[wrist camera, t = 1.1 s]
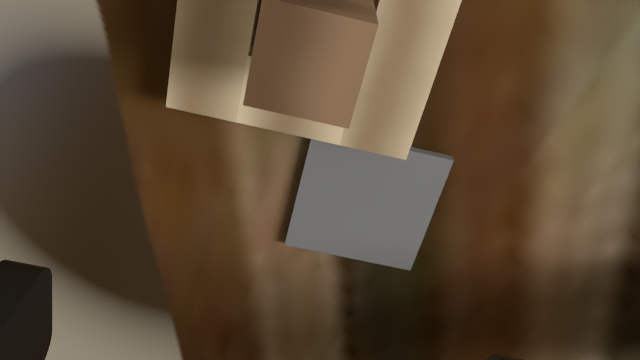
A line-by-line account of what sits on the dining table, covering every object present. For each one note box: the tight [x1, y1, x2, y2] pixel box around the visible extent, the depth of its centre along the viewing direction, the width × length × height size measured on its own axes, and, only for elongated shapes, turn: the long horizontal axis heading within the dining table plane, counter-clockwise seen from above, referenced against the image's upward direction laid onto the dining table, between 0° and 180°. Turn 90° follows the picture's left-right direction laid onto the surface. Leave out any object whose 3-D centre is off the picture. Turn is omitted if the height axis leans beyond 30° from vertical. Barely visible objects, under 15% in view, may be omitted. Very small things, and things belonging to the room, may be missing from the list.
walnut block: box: [243, 0, 378, 129], centre depth 28 cm, size 4×4×11 cm
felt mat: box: [285, 139, 454, 270], centre depth 39 cm, size 9×9×1 cm
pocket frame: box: [166, 0, 462, 160], centre depth 32 cm, size 14×14×3 cm
